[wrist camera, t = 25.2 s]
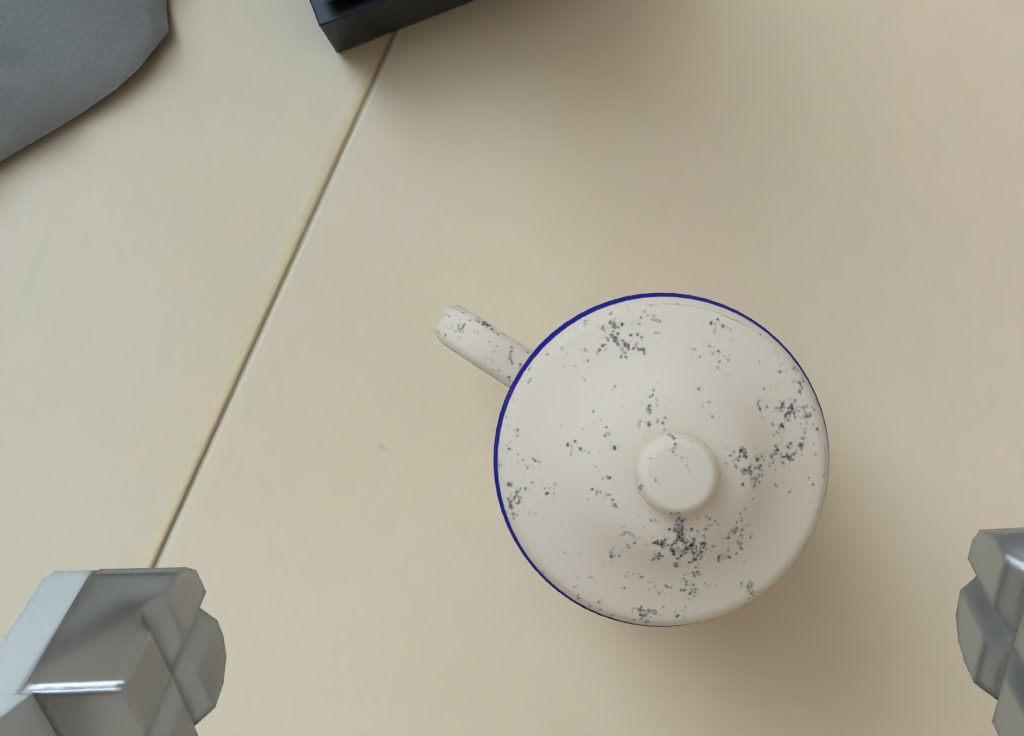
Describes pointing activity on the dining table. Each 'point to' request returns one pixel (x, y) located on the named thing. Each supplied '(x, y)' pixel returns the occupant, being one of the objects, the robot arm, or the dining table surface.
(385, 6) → the scale
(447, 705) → the dining table surface
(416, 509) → the dining table surface
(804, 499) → the teacup with lid
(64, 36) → the cloth
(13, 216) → the dining table surface
